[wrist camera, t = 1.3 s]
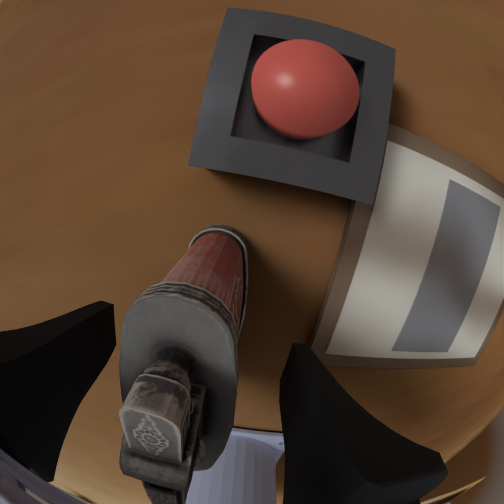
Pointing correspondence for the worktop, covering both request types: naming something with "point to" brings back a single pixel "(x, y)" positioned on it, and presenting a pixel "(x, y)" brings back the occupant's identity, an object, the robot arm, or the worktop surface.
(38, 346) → the robot arm
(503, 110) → the worktop surface
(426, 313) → the board
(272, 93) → the button
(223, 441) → the lighter
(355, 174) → the button housing
